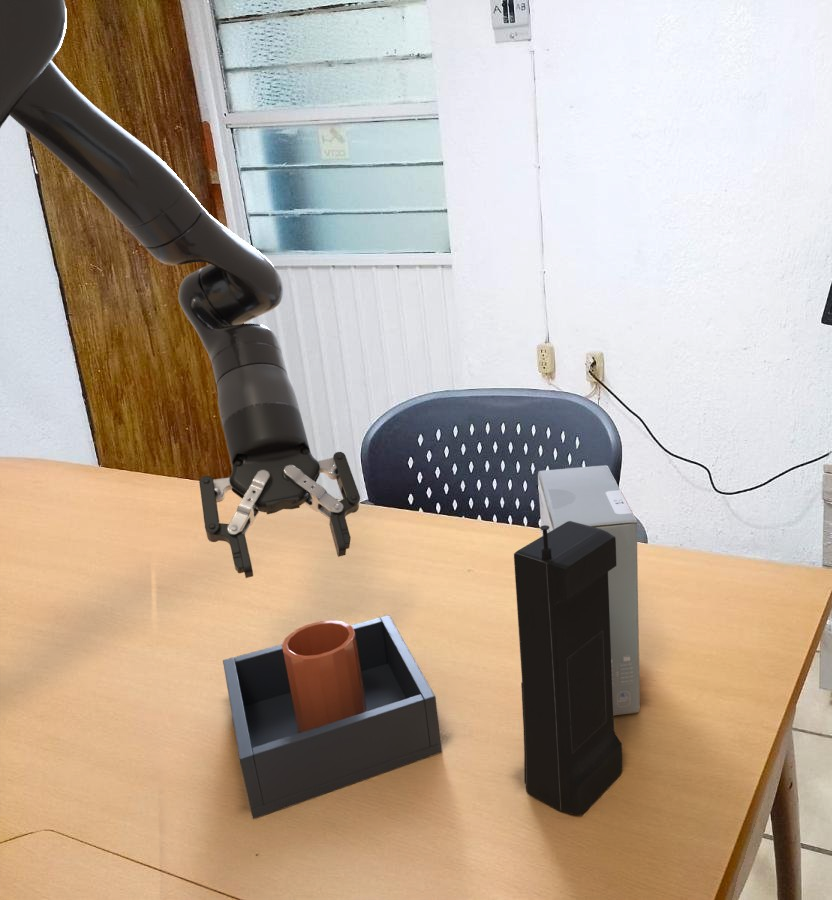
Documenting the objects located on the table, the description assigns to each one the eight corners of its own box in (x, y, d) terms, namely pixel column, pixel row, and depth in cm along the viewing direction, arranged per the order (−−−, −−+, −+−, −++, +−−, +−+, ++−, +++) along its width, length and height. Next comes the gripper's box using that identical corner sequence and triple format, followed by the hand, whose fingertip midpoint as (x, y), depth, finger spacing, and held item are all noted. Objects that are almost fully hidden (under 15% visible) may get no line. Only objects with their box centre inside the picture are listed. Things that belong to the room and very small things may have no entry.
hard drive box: (642, 715, 78) (638, 522, 72) (562, 725, 77) (550, 531, 71) (613, 628, 93) (607, 462, 86) (545, 636, 92) (534, 468, 85)
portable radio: (575, 739, 75) (562, 484, 67) (631, 764, 72) (623, 499, 64) (519, 791, 69) (496, 518, 61) (577, 821, 66) (561, 537, 58)
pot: (304, 752, 73) (287, 666, 70) (293, 714, 79) (277, 632, 76) (373, 729, 76) (361, 645, 73) (359, 694, 81) (346, 614, 78)
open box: (252, 819, 67) (239, 759, 65) (234, 712, 81) (222, 659, 79) (442, 752, 74) (435, 696, 72) (396, 664, 88) (389, 614, 86)
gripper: (181, 412, 79) (212, 568, 73) (334, 389, 85) (374, 531, 79) (189, 449, 85) (219, 595, 79) (331, 425, 91) (369, 560, 85)
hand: (297, 563), depth 79 cm, fingers open, 8 cm apart
